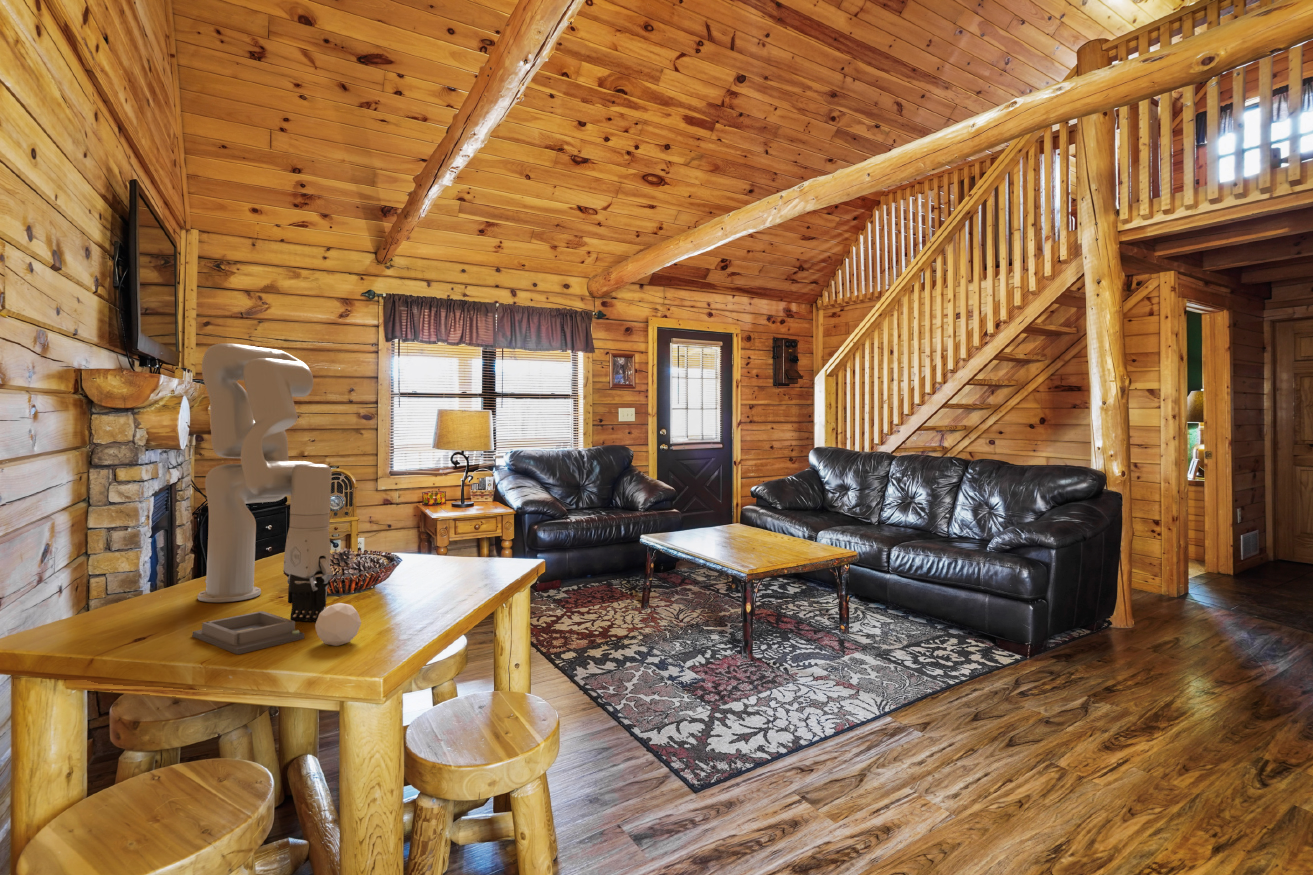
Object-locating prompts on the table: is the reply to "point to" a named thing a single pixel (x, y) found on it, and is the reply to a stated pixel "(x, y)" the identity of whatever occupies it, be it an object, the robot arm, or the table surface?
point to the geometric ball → (338, 624)
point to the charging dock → (248, 632)
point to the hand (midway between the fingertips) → (306, 604)
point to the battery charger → (302, 599)
